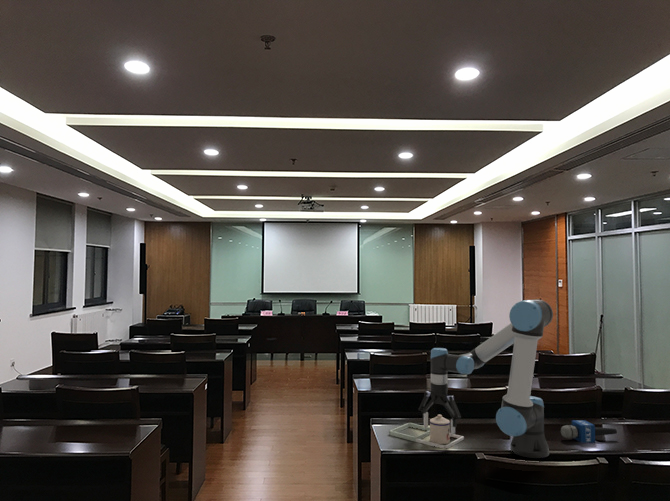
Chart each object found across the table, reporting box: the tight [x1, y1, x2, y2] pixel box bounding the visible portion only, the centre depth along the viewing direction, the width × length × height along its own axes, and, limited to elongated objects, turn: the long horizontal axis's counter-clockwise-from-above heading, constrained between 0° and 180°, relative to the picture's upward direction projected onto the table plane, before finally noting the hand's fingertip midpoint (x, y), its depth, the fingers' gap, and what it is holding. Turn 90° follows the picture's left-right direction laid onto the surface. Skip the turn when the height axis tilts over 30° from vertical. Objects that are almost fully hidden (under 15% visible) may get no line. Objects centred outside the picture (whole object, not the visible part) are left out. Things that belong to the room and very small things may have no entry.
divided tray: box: [388, 422, 465, 450], centre depth 223 cm, size 29×17×2 cm, turn 49°
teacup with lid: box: [428, 414, 451, 445], centre depth 219 cm, size 12×9×12 cm
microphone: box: [560, 419, 618, 444], centre depth 220 cm, size 8×8×25 cm
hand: (439, 430), depth 219 cm, fingers open, 13 cm apart
